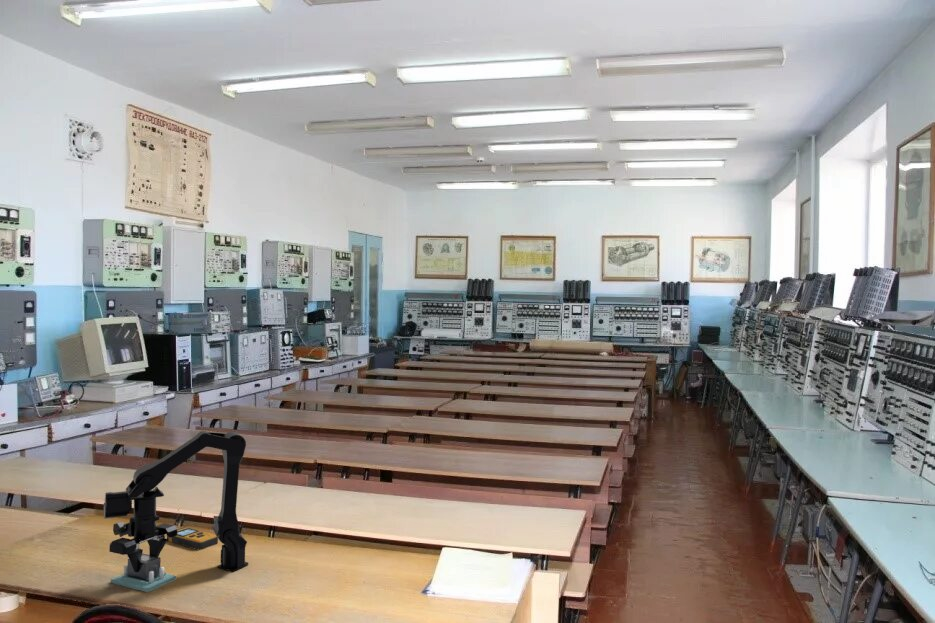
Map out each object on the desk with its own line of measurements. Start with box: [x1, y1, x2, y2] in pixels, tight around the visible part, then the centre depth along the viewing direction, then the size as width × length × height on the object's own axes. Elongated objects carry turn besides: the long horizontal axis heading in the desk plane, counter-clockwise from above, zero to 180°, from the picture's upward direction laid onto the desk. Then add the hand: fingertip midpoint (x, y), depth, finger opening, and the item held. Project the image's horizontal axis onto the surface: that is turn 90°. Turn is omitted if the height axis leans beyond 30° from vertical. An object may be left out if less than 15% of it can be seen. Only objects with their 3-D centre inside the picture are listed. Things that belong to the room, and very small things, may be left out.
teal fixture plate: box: [110, 564, 177, 593], centre depth 203 cm, size 14×10×4 cm
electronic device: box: [166, 527, 219, 551], centre depth 236 cm, size 8×16×3 cm, turn 60°
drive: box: [127, 552, 162, 581], centre depth 203 cm, size 7×5×5 cm
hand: (144, 568), depth 203 cm, fingers closed on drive, 5 cm apart
